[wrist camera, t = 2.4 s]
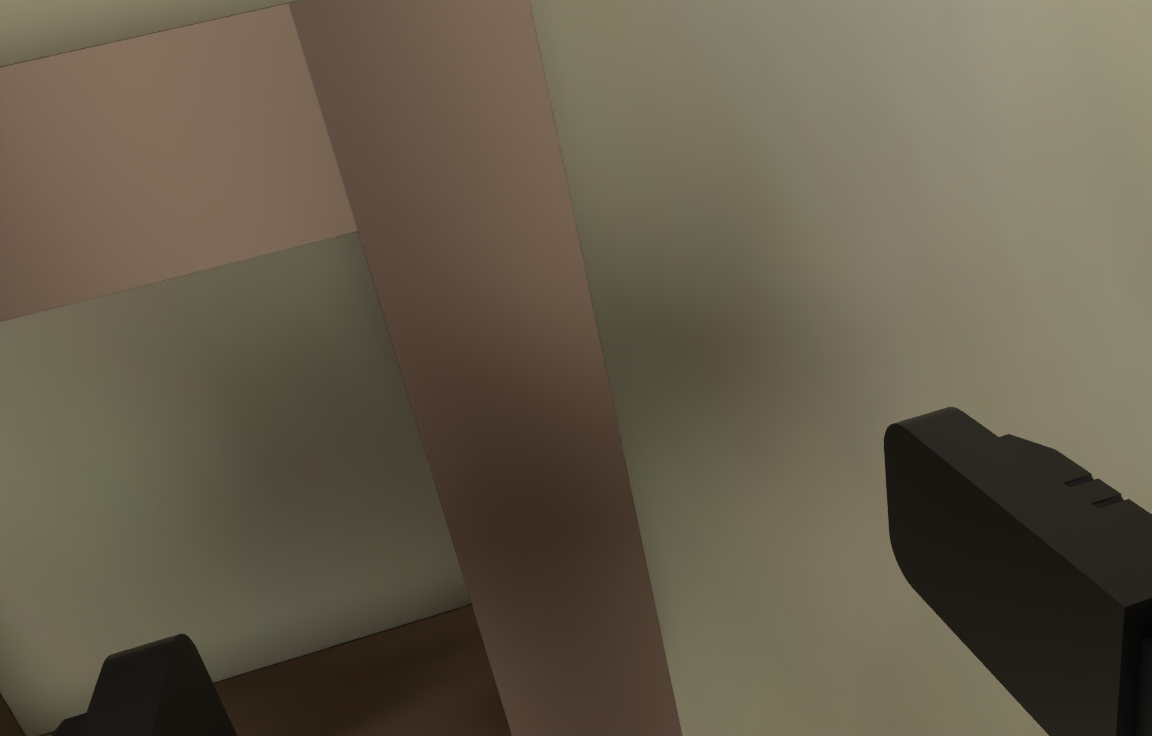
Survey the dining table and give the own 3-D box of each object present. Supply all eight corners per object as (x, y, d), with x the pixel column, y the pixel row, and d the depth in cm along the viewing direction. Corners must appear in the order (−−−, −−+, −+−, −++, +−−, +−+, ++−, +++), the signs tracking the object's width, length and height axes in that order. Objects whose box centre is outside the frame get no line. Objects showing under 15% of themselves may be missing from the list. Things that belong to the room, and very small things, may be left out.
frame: (468, -37, 15) (518, -48, 10) (627, 659, 20) (706, 850, 16) (-518, 182, 13) (-979, 284, 9) (-49, 873, 19) (-177, 1156, 14)
